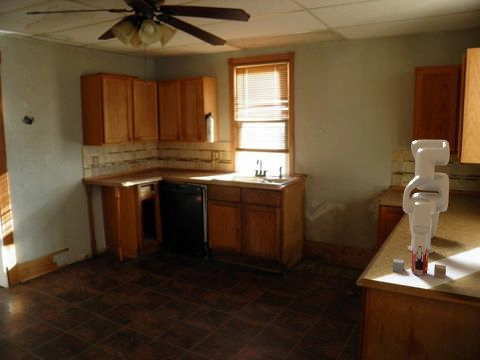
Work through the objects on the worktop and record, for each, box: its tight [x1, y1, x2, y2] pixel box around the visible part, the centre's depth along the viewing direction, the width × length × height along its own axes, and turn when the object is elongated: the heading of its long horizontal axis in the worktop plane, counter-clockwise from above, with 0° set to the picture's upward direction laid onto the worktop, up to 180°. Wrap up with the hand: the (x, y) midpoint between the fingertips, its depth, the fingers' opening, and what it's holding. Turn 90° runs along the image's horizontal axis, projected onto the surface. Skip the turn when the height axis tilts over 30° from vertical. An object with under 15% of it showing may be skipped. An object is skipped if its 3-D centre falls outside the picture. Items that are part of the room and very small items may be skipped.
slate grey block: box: [392, 258, 405, 274], centre depth 189 cm, size 5×5×5 cm
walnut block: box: [433, 263, 447, 280], centre depth 181 cm, size 5×5×5 cm
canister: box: [408, 211, 441, 239], centre depth 242 cm, size 18×18×21 cm
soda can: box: [410, 248, 430, 276], centre depth 184 cm, size 7×7×12 cm
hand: (419, 266), depth 185 cm, fingers closed on soda can, 7 cm apart
